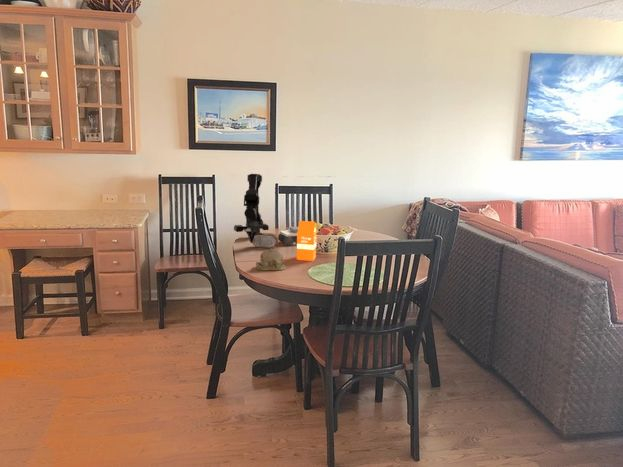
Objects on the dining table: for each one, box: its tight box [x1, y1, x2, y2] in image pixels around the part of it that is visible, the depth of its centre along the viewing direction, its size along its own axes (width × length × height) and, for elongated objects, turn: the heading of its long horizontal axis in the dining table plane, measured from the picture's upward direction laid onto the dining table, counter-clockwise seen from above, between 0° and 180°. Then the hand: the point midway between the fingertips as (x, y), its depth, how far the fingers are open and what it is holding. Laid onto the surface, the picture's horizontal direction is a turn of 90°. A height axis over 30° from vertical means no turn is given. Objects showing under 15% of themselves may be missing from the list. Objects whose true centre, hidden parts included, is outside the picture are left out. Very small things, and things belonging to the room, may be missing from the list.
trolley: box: [277, 226, 298, 247], centre depth 277 cm, size 10×13×9 cm
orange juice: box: [296, 220, 317, 262], centre depth 244 cm, size 8×9×20 cm
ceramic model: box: [255, 248, 287, 271], centre depth 227 cm, size 14×11×10 cm
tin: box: [251, 232, 279, 249], centre depth 265 cm, size 15×3×8 cm, turn 81°
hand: (251, 242), depth 262 cm, fingers closed
